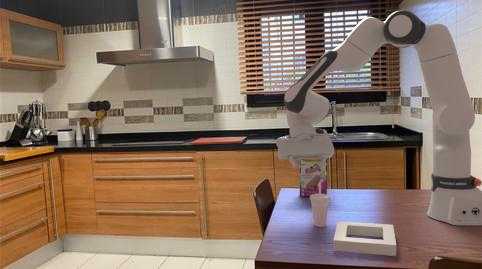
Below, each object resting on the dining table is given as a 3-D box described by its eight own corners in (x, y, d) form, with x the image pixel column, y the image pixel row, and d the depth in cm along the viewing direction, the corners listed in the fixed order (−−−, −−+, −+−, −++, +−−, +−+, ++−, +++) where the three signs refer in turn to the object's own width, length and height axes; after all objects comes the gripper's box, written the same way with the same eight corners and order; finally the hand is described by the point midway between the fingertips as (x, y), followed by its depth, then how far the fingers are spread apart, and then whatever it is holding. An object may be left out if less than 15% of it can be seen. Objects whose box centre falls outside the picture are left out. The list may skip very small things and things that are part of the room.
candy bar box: (300, 197, 162) (299, 158, 160) (299, 194, 167) (298, 156, 165) (327, 197, 161) (327, 157, 159) (326, 194, 166) (325, 155, 164)
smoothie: (331, 222, 131) (330, 181, 129) (329, 229, 125) (328, 185, 123) (311, 221, 133) (311, 180, 131) (308, 227, 127) (307, 184, 125)
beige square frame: (393, 234, 118) (393, 224, 118) (396, 256, 103) (396, 245, 103) (338, 230, 123) (338, 221, 123) (333, 250, 108) (333, 240, 108)
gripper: (275, 132, 145) (281, 163, 136) (330, 130, 146) (339, 160, 138) (274, 142, 150) (279, 173, 141) (327, 140, 151) (335, 170, 142)
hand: (309, 167), depth 139 cm, fingers open, 8 cm apart
